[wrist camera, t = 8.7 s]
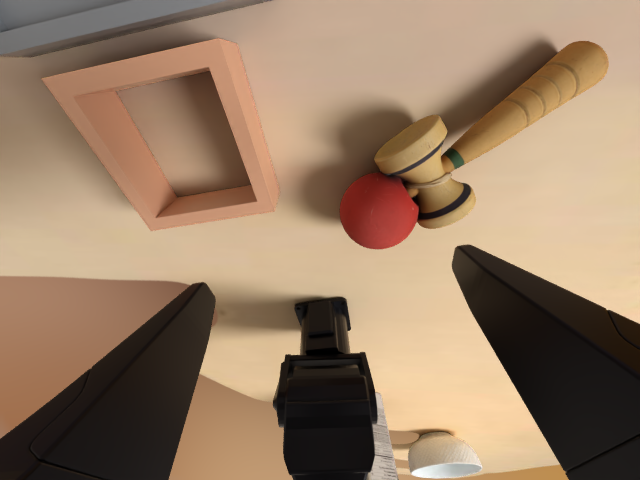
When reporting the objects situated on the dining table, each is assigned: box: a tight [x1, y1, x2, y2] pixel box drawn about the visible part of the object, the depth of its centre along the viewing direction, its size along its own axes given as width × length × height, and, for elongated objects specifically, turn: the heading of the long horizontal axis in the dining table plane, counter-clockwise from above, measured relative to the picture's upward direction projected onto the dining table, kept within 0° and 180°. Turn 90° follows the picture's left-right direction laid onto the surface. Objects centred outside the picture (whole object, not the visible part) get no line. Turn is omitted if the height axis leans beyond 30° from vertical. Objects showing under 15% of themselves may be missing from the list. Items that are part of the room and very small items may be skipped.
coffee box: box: [366, 392, 399, 480], centre depth 41 cm, size 9×6×16 cm
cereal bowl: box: [408, 432, 482, 478], centre depth 60 cm, size 17×17×7 cm
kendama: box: [340, 41, 609, 249], centre depth 17 cm, size 8×6×18 cm
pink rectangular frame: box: [41, 38, 280, 231], centre depth 16 cm, size 10×10×4 cm
